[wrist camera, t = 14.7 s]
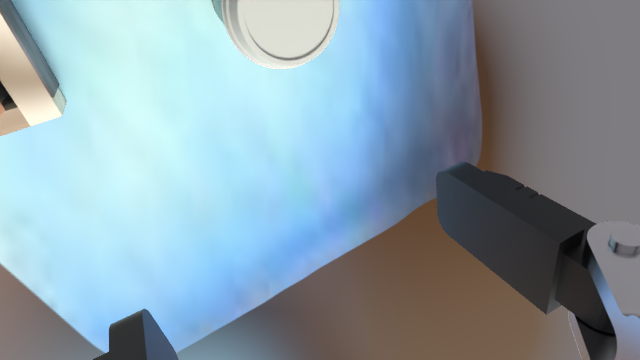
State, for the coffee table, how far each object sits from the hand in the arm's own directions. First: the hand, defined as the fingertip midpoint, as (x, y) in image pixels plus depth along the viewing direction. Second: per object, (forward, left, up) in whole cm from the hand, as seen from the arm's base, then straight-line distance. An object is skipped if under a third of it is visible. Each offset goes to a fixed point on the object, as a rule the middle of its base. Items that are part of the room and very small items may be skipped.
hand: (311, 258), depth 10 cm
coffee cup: (-2, +8, -32) cm, 33 cm away
